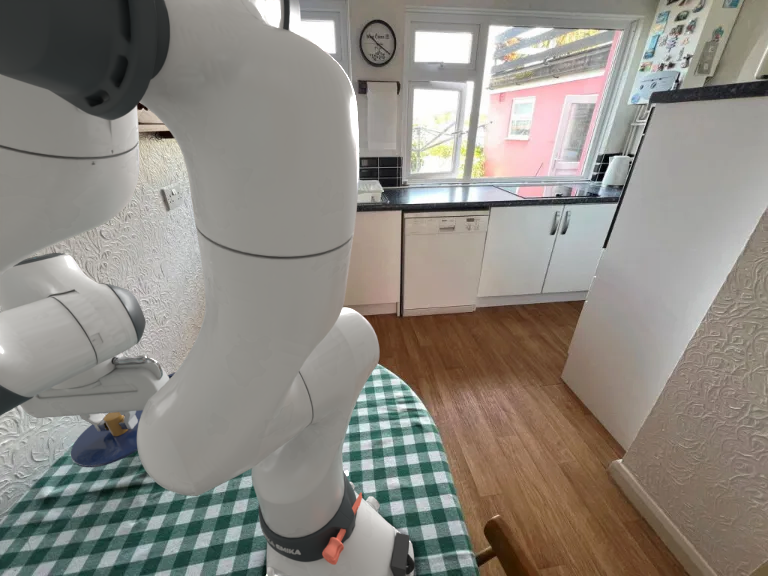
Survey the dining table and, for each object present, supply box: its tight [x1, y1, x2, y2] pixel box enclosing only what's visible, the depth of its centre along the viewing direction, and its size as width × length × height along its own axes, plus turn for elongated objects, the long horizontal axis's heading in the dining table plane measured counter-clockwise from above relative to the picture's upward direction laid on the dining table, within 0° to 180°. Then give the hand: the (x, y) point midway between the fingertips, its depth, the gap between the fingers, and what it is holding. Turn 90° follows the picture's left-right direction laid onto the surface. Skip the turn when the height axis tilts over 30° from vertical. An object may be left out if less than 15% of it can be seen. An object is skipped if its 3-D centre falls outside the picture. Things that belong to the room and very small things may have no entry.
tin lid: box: [70, 410, 143, 469], centre depth 52 cm, size 13×13×5 cm
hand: (118, 427), depth 52 cm, fingers closed on tin lid, 2 cm apart
